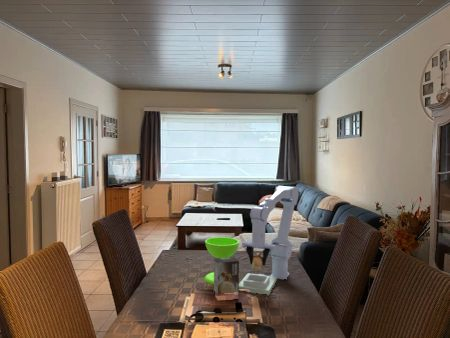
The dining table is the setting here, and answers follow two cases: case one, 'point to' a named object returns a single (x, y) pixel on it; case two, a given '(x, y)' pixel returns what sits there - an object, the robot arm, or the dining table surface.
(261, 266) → the spout can
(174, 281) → the dining table surface
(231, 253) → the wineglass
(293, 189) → the robot arm
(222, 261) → the coffee box
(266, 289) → the pale green rectangular tray
